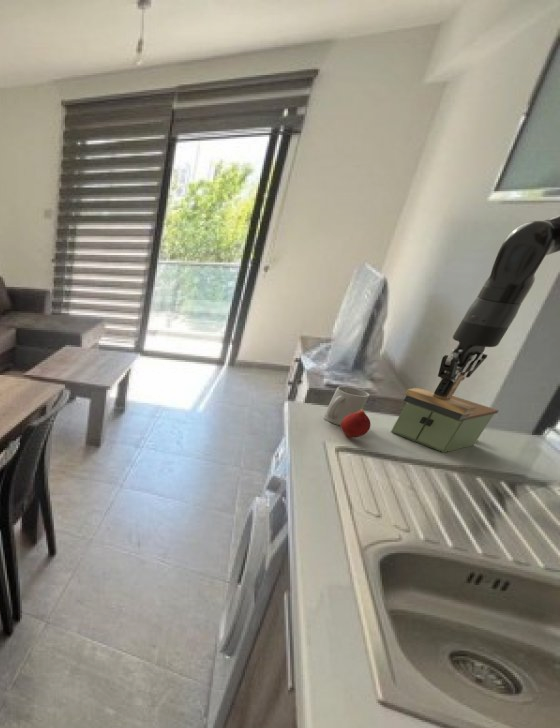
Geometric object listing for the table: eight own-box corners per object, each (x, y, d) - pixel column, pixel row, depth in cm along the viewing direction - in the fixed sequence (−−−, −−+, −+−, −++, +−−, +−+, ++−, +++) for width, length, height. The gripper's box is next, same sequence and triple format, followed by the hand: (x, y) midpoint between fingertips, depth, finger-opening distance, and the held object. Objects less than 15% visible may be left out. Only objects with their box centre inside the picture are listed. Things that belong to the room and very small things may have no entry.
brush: (469, 418, 111) (492, 382, 106) (459, 420, 109) (483, 384, 105) (411, 398, 120) (430, 364, 116) (401, 400, 119) (420, 365, 114)
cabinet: (475, 445, 124) (499, 410, 119) (442, 454, 118) (465, 417, 114) (420, 424, 134) (439, 391, 129) (386, 431, 129) (405, 397, 124)
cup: (360, 424, 132) (375, 394, 127) (337, 429, 128) (352, 398, 124) (333, 414, 137) (347, 385, 133) (310, 418, 134) (324, 388, 129)
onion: (361, 437, 125) (376, 409, 121) (363, 445, 120) (378, 416, 116) (334, 430, 127) (348, 403, 123) (336, 438, 123) (350, 410, 119)
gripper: (490, 327, 99) (445, 404, 108) (524, 324, 104) (478, 398, 112) (447, 318, 105) (407, 391, 114) (481, 316, 110) (440, 386, 118)
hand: (442, 394), depth 113 cm, fingers closed on brush, 2 cm apart
